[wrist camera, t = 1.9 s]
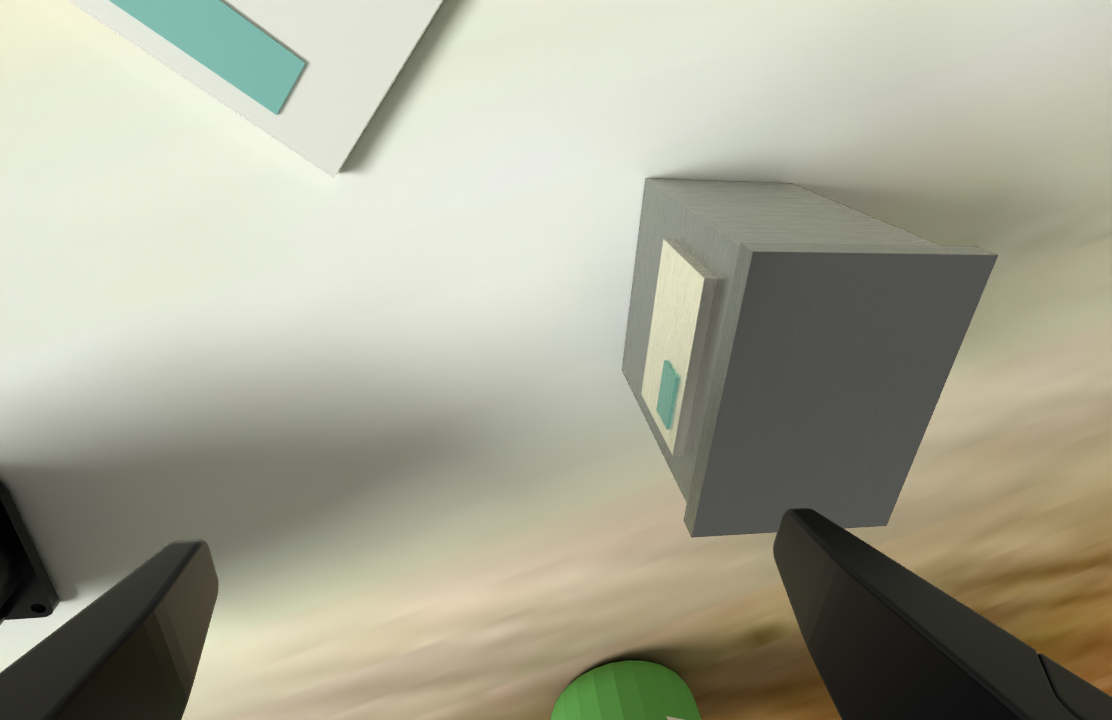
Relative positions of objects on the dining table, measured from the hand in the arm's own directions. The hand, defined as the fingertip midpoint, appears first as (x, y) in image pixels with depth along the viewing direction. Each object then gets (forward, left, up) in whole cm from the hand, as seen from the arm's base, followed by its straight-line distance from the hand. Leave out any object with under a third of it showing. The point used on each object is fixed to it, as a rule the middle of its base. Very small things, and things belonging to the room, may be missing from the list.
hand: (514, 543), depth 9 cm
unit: (0, -7, -12) cm, 14 cm away
